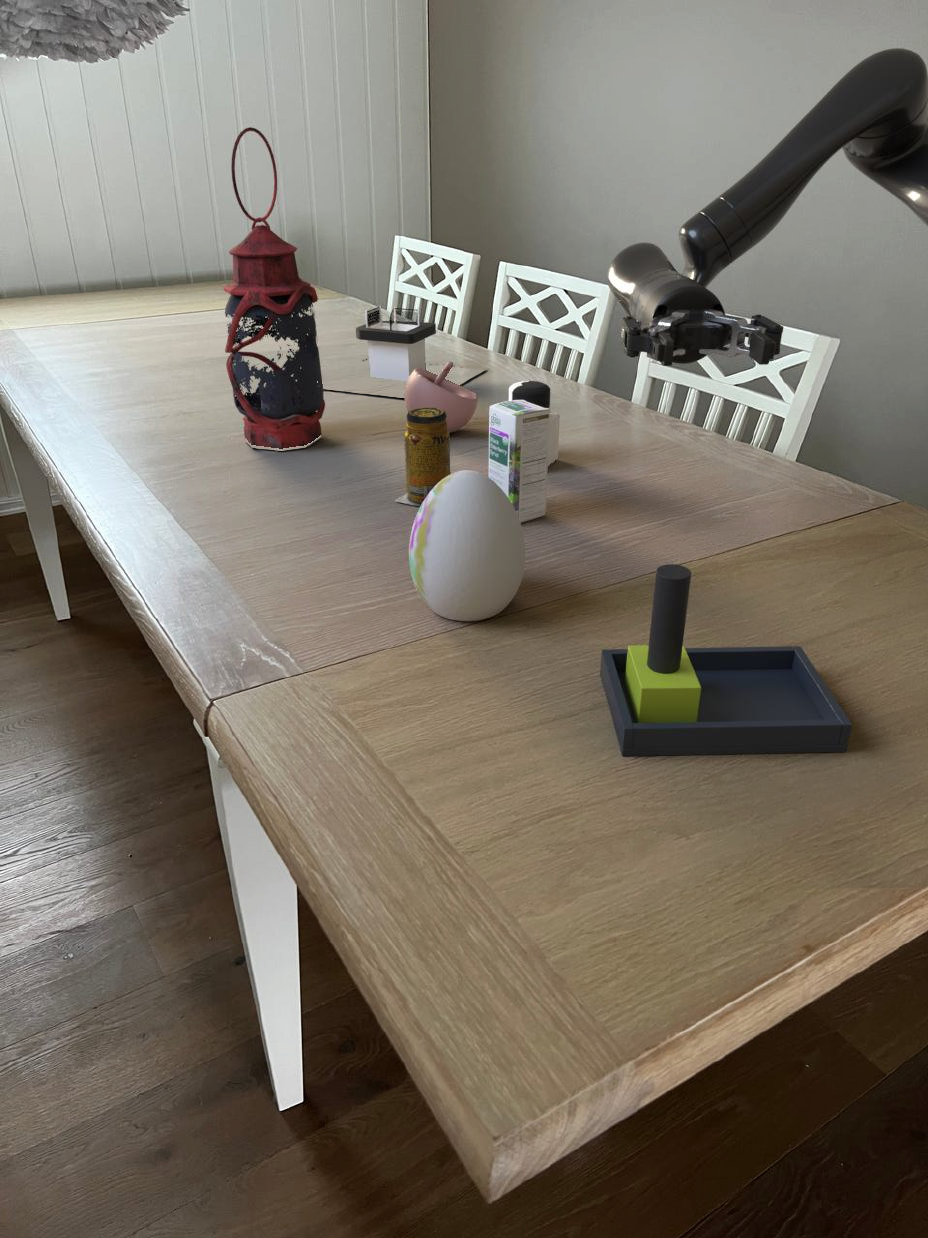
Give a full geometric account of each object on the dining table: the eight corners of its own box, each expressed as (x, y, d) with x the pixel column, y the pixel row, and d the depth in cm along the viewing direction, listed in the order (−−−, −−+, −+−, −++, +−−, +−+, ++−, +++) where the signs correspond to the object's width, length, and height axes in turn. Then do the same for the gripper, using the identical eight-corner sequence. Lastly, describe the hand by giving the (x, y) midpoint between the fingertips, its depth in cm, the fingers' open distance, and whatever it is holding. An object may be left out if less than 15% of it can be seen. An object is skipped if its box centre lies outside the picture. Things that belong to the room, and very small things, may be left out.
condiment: (420, 485, 132) (417, 402, 126) (473, 494, 128) (472, 409, 122) (393, 502, 126) (389, 416, 120) (448, 512, 123) (446, 424, 117)
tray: (795, 671, 87) (800, 645, 86) (846, 752, 76) (852, 724, 75) (599, 674, 87) (601, 649, 86) (622, 756, 76) (624, 728, 75)
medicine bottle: (558, 459, 141) (562, 380, 135) (540, 473, 135) (542, 392, 129) (516, 452, 144) (517, 375, 138) (496, 466, 138) (496, 386, 132)
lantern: (300, 459, 142) (267, 127, 120) (217, 450, 146) (171, 128, 124) (343, 429, 155) (320, 125, 133) (266, 422, 159) (232, 126, 137)
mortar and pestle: (486, 439, 150) (486, 368, 144) (414, 446, 147) (411, 374, 141) (468, 418, 160) (467, 351, 154) (400, 424, 157) (396, 356, 152)
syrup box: (485, 512, 123) (486, 404, 116) (521, 502, 125) (523, 396, 118) (512, 526, 118) (514, 415, 111) (547, 515, 121) (552, 406, 114)
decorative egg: (449, 570, 107) (446, 445, 100) (543, 594, 102) (548, 464, 95) (388, 614, 98) (381, 480, 91) (489, 643, 93) (489, 503, 85)
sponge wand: (679, 682, 85) (694, 552, 78) (696, 727, 78) (714, 590, 72) (624, 682, 85) (635, 553, 78) (637, 727, 78) (650, 591, 72)
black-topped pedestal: (488, 369, 189) (488, 302, 183) (432, 403, 168) (430, 327, 162) (368, 358, 199) (364, 293, 193) (301, 387, 179) (295, 316, 172)
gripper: (610, 279, 93) (640, 310, 79) (751, 277, 93) (806, 307, 79) (606, 355, 97) (633, 397, 82) (741, 353, 97) (792, 395, 83)
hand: (718, 353), depth 81 cm, fingers open, 8 cm apart
